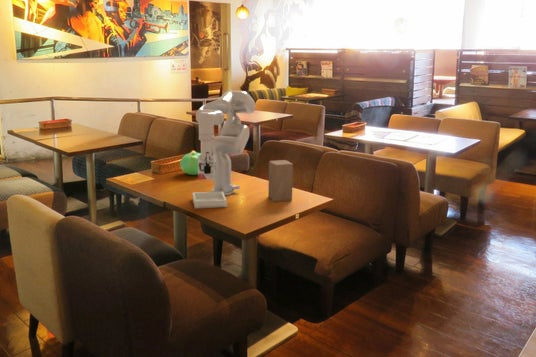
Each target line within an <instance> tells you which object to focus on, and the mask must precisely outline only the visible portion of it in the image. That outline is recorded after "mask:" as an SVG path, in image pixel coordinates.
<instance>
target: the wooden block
mask: <svg viewBox="0 0 536 357" xmlns="http://www.w3.org/2000/svg"><path fill="white" fill-rule="evenodd" d="M293 175H294V164H293V163H292V162H290V161H289V160H288V159H287V160H286V159H278V160H277V159H276V160H269V161H268V192H267V193H268V198H270V199H271V200H272V201H273V202H274V203H276V202H287V201H292V200H293V183H294V179H293V178H294V176H293Z"/></svg>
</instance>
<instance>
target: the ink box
mask: <svg viewBox="0 0 536 357" xmlns="http://www.w3.org/2000/svg"><path fill="white" fill-rule="evenodd" d="M210 159H211V158H210ZM205 160H207V159H205ZM206 162H207V161H206ZM215 164H216V156H215V155H213V154H212V159H211V160H210V166H211V173H210V174H204V166H205V161H204V160H202V159H201V155H199V156H198V175H197V179H198V180H214V179H215Z"/></svg>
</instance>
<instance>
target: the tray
mask: <svg viewBox="0 0 536 357" xmlns="http://www.w3.org/2000/svg"><path fill="white" fill-rule="evenodd" d="M192 203H193V207H194V209H209V208H211V209H213V208H227V206H228V201H227V197H226V195H224V193H223V191H222V192H211V191H206V192H205V191H201V192H200V191H199V192H192Z"/></svg>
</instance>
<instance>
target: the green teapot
mask: <svg viewBox="0 0 536 357" xmlns="http://www.w3.org/2000/svg"><path fill="white" fill-rule="evenodd" d="M199 155H201V152H197V151H195V150H191V152H188V153H186V154H184V155H183V156H182V158H181V160H180V162H179V165H180V168H181V170H182V172H184V173H185V174H187V175H191V176H198V156H199Z"/></svg>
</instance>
